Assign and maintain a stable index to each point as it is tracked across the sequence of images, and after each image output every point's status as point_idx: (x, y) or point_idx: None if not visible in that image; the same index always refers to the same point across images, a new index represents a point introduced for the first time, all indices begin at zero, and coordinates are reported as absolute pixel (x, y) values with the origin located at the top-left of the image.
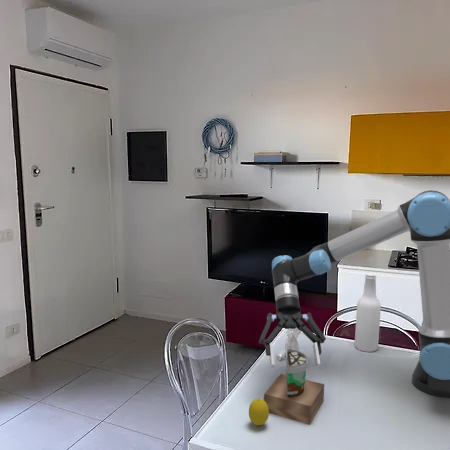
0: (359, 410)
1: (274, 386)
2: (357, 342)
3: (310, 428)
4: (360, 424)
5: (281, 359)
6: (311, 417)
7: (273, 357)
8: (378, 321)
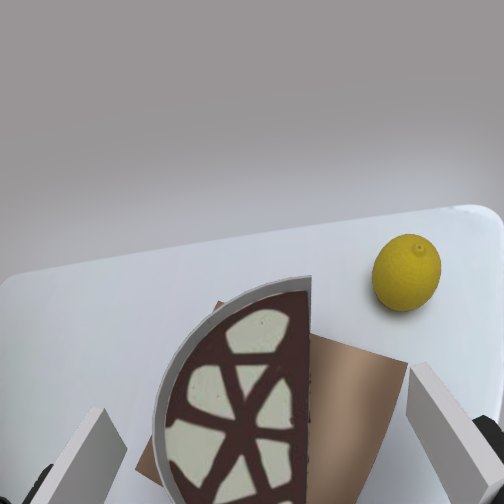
0: (78, 403)
1: (366, 436)
2: None
3: None
4: (97, 336)
5: None
6: None
7: (433, 396)
8: None
